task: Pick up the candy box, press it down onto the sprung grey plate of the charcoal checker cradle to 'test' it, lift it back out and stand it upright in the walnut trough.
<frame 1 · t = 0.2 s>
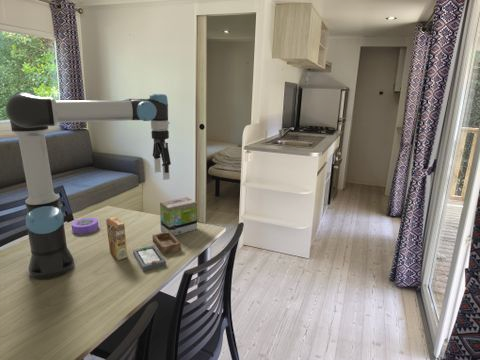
hand: (161, 175, 154), 28 cm above the table, fingers open, 13 cm apart
masking tape: (85, 229, 162), on the table
checker plate: (148, 257, 135), point 1 cm above the table, slide at 1.2 cm
candy box: (118, 255, 139), on the table
tea box: (179, 230, 163), on the table
trough: (166, 246, 147), on the table
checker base: (149, 259, 135), on the table
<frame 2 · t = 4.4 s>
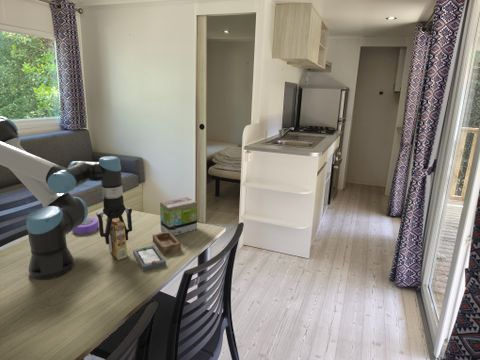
hand: (117, 248, 138), 3 cm above the table, fingers closed on candy box, 5 cm apart
candy box: (118, 255, 139), on the table, touching gripper
everything else where it was.
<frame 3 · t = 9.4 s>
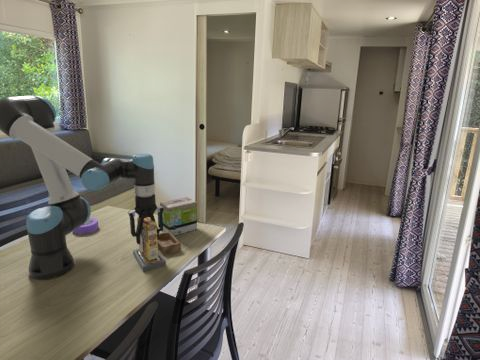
hand: (148, 248, 134), 5 cm above the table, fingers closed on candy box, 5 cm apart
candy box: (148, 255, 135), point 2 cm above the table, touching gripper
everything else where it was.
when the fingers open (5 cm above the table, at t = 14.8 s): candy box drops 1 cm, resting on trough.
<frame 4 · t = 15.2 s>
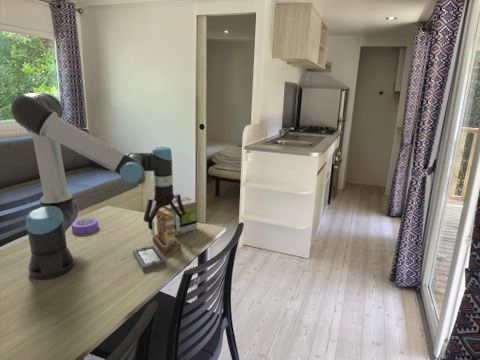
hand: (165, 232, 145), 6 cm above the table, fingers open, 10 cm apart
candy box: (166, 244, 147), point 1 cm above the table, touching trough
everything else where it was.
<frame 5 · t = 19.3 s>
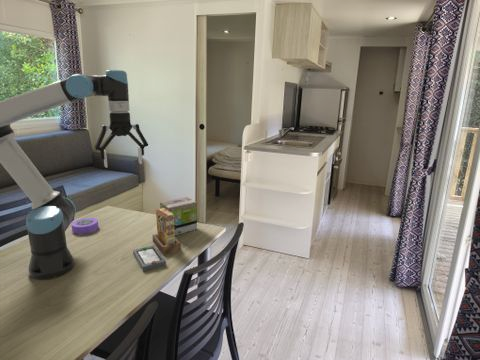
hand: (123, 165, 135), 37 cm above the table, fingers open, 13 cm apart
nothing on the table moved.
at the end: candy box inside the target area on the trough (0.1 cm from its centre), point 0.8 cm above the trough's base; candy box tilted 0°; the gripper is holding nothing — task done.
